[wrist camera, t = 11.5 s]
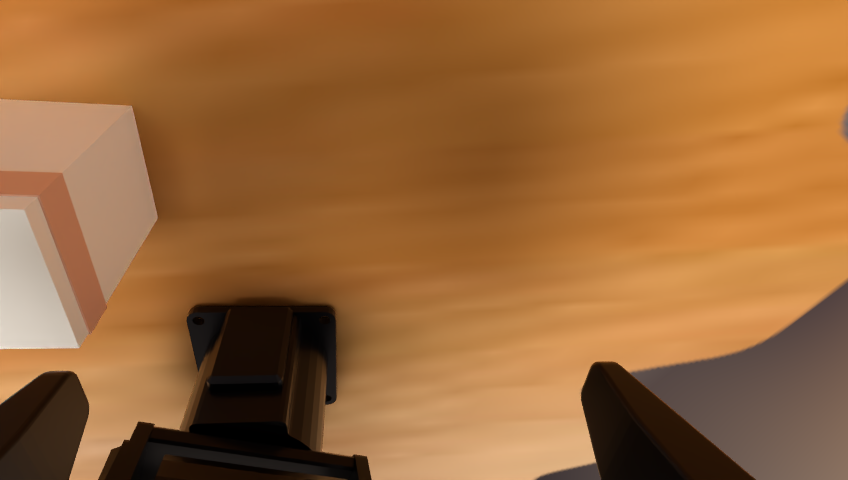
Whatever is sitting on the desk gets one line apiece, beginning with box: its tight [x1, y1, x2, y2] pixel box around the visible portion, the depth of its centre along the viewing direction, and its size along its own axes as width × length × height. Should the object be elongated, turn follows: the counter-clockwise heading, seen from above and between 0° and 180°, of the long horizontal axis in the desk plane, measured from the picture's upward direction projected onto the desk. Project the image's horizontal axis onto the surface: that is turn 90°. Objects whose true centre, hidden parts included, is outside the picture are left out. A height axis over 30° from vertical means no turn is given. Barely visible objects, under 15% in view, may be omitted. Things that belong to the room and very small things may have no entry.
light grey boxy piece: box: [0, 99, 158, 349], centre depth 16 cm, size 5×5×7 cm
